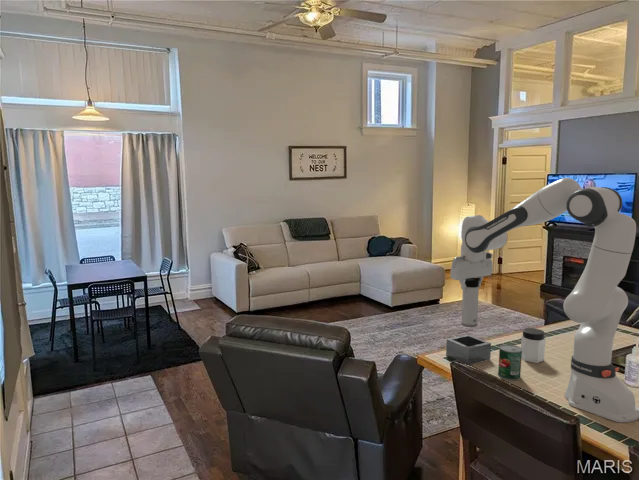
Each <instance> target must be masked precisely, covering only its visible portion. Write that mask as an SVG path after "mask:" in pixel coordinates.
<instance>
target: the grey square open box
mask: <svg viewBox="0 0 639 480" xmlns="http://www.w3.org/2000/svg"><path fill="white" fill-rule="evenodd" d="M445 346H446V349H445V350H446V351H445V355H446V356H448V357H450V358H452V359H453V360H456V361H458V362H460V363H462V364H465V365H466V364H467V366H470V365H471V366H472V365H474V364H475V365H476V364H478V363H483V362H486V360H487V361H491V354H492V343H491V342H489V341H486V340H483V339H481V338H478V337H476V336H473V335H471V334H464V335H459V336H456V337H450V338H446V345H445ZM482 361H483V362H482Z"/></svg>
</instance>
